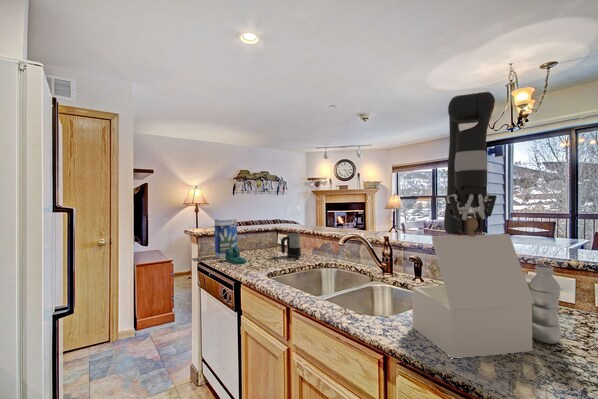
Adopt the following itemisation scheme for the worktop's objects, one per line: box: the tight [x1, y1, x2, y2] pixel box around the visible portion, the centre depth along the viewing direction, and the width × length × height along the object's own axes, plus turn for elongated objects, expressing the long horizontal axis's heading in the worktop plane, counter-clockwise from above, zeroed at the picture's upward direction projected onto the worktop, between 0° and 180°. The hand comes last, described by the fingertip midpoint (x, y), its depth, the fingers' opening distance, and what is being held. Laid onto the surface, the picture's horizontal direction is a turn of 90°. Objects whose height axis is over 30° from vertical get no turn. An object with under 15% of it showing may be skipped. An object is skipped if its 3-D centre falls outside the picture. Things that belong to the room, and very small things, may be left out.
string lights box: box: [214, 217, 238, 259], centre depth 200 cm, size 13×8×26 cm, turn 130°
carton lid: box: [431, 216, 534, 310], centre depth 76 cm, size 23×22×4 cm
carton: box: [411, 284, 533, 359], centre depth 81 cm, size 18×22×12 cm
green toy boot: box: [224, 247, 247, 265], centre depth 184 cm, size 18×7×8 cm, turn 38°
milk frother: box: [280, 233, 302, 260], centre depth 194 cm, size 14×16×15 cm
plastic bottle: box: [529, 264, 562, 345], centre depth 79 cm, size 6×7×20 cm
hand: (470, 232), depth 79 cm, fingers closed on carton lid, 4 cm apart
